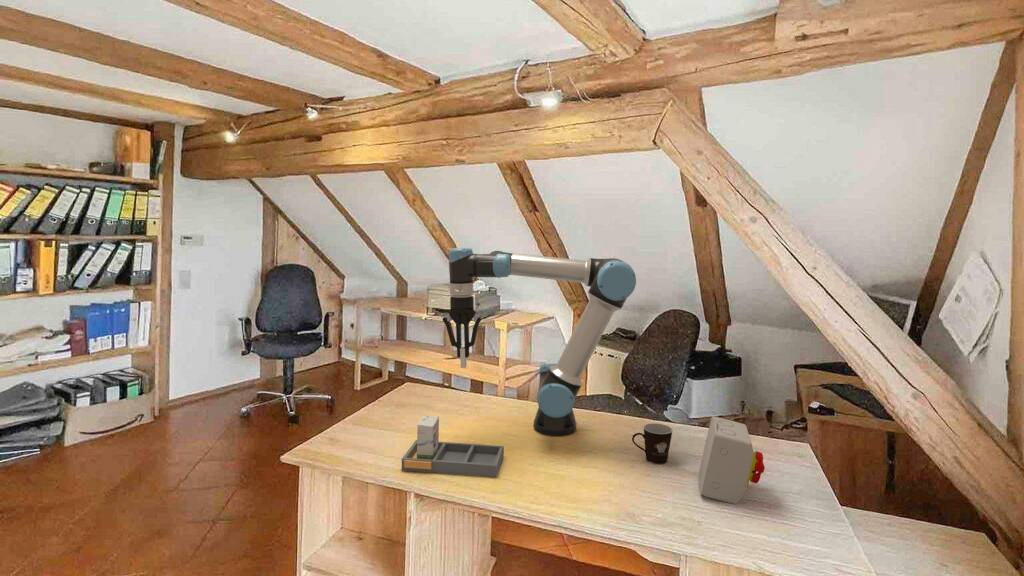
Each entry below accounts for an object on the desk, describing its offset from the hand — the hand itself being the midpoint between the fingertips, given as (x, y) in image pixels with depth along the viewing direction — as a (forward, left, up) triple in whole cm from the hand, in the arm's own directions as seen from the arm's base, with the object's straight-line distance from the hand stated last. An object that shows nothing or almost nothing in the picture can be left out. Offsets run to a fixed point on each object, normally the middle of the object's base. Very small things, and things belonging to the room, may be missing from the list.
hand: (463, 366), depth 182 cm
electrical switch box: (-80, +23, -25) cm, 87 cm away
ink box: (+7, +18, -24) cm, 31 cm away
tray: (-1, +18, -25) cm, 31 cm away
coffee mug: (-61, +5, -25) cm, 66 cm away
